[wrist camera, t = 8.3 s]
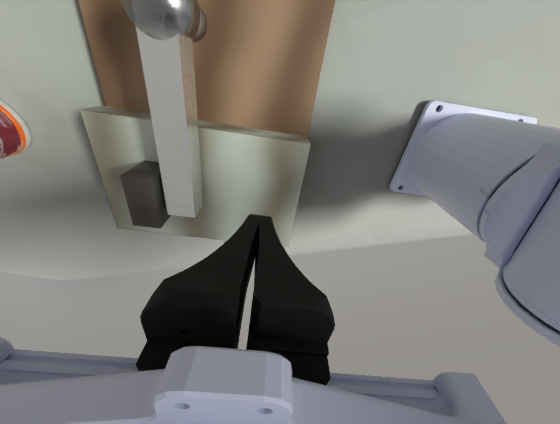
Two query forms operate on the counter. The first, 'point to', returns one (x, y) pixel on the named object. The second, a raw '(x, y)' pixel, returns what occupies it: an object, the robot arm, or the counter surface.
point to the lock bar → (172, 95)
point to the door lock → (213, 113)
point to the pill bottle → (12, 132)
